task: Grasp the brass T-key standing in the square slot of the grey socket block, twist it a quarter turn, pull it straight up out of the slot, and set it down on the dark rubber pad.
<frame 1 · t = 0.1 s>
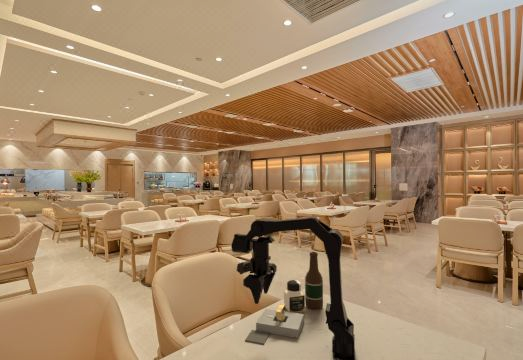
hand: (261, 298, 99), 15 cm above the table, fingers open, 9 cm apart
medicine bottle: (294, 309, 122), on the table
pad: (257, 337, 100), on the table
t key: (280, 316, 108), in the grey socket block
grey socket block: (280, 326, 108), on the table
beer bottle: (314, 306, 124), on the table
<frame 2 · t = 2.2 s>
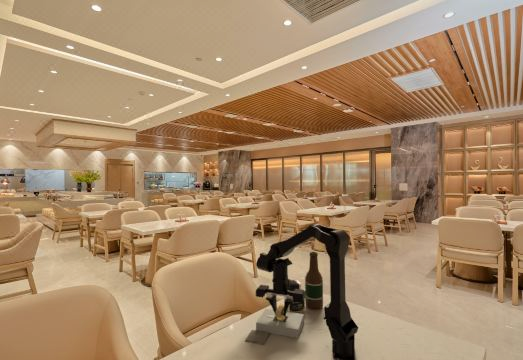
hand: (280, 315, 108), 4 cm above the table, fingers closed on t key, 3 cm apart
t key: (280, 316, 108), in the grey socket block, touching gripper
everything else where it was.
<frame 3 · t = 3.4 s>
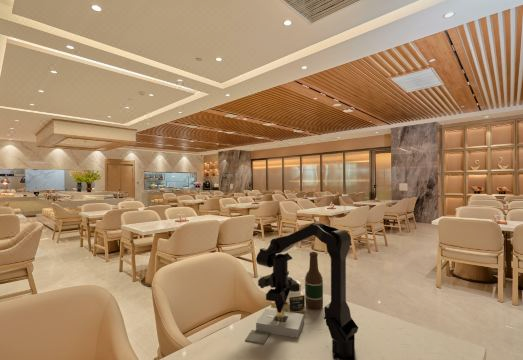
hand: (280, 310, 108), 6 cm above the table, fingers closed on t key, 3 cm apart
t key: (280, 311, 108), point 6 cm above the table, touching gripper
everything else where it was.
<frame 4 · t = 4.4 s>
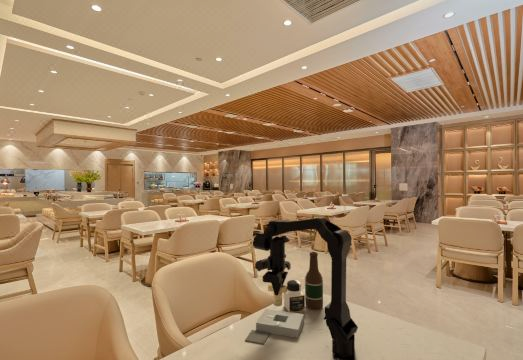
hand: (277, 293, 107), 13 cm above the table, fingers closed on t key, 3 cm apart
t key: (277, 295, 107), point 12 cm above the table, touching gripper
everything else where it was.
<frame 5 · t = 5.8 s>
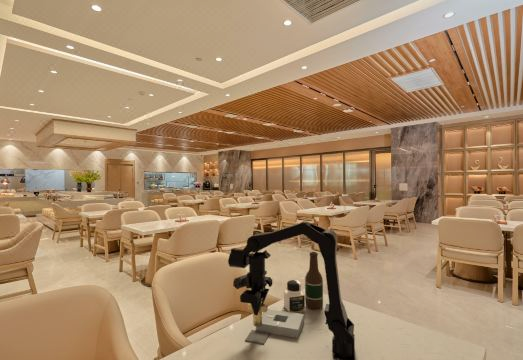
hand: (257, 312, 100), 9 cm above the table, fingers closed on t key, 3 cm apart
t key: (257, 314, 100), point 8 cm above the table, touching gripper
everything else where it was.
when the fingers open (5 cm above the table, at t = 6.7 s): t key stays where it is, resting on pad.
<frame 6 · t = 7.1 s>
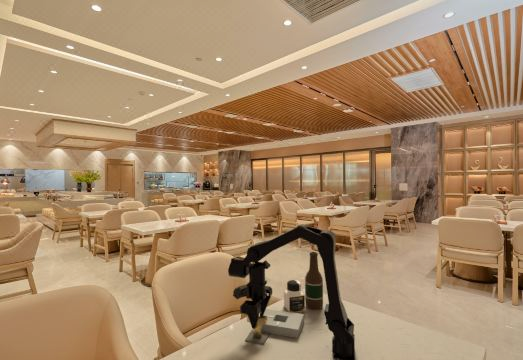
hand: (257, 322, 100), 5 cm above the table, fingers open, 8 cm apart
t key: (257, 326, 100), on the pad
everything else where it was.
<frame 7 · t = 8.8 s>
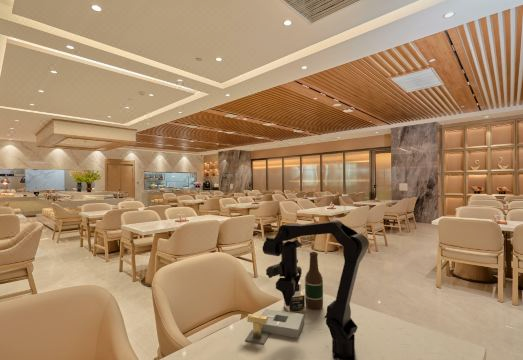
hand: (290, 300, 102), 12 cm above the table, fingers open, 9 cm apart
nothing on the table moved.
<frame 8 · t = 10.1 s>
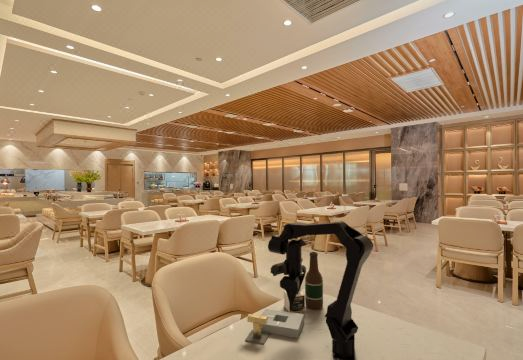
hand: (294, 298, 103), 13 cm above the table, fingers open, 9 cm apart
nothing on the table moved.
at the end: t key inside the target area on the pad (0.0 cm from its centre), point 4.0 cm above the pad's base; t key moved 11.7 cm from its start; the gripper is holding nothing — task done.
